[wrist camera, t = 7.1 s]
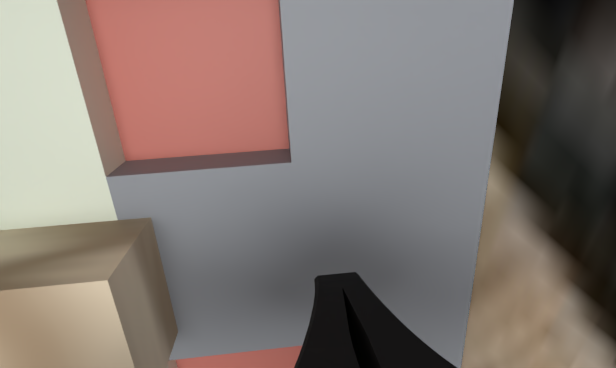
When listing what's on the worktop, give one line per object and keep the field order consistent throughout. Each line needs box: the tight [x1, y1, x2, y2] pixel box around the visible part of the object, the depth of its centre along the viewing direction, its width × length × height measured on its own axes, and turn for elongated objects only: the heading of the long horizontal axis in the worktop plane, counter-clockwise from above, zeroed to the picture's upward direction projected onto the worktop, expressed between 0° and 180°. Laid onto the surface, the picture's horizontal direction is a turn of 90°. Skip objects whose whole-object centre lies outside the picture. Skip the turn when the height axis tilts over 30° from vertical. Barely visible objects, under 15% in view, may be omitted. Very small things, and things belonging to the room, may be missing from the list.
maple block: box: [0, 217, 178, 368], centre depth 11 cm, size 5×5×4 cm
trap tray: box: [0, 0, 514, 368], centre depth 13 cm, size 18×22×5 cm
